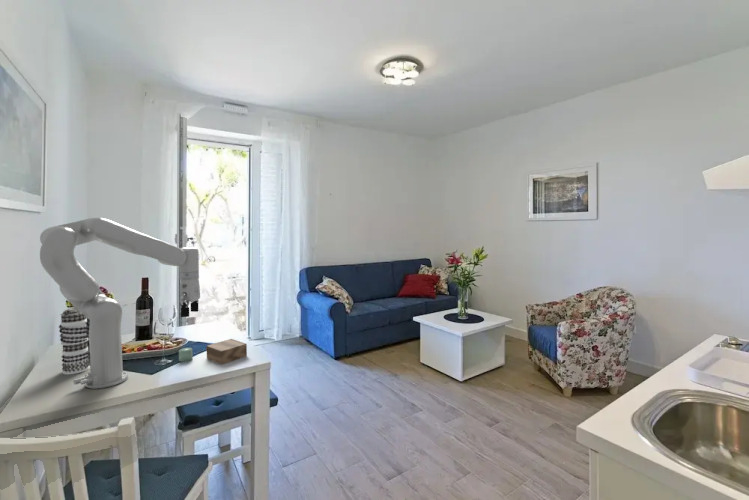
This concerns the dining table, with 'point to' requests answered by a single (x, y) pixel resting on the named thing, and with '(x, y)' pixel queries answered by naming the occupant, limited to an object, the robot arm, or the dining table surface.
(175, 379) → the dining table surface
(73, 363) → the black white patterned vase
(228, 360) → the walnut block
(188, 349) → the green rounded block
